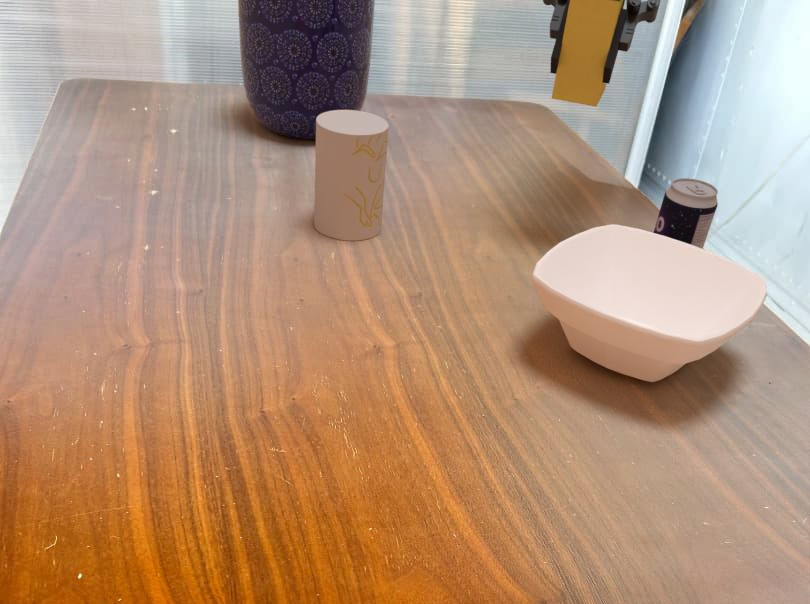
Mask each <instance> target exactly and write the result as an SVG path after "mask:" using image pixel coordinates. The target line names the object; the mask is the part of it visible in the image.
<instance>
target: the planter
mask: <svg viewBox="0 0 810 604" xmlns="http://www.w3.org/2000/svg"><path fill="white" fill-rule="evenodd" d="M237 4H238V5H237V9H238V33H239V35H238V36H239V50H240V51H239V52H240V63H241V64H240V65H241V73H242V82H243V83H242V84H243V88H244V93H245V96H246V99H247V101H248V104H249V107H250V108H251V110H252V112H253V114H254V115H255V116H256V118H257V119H258V120H259V122H260V123H261V124H262V125H263V126H264V127H265V128H267V129H268V130H270V131H272V132H274V133H276V134H279V135H281V136H284V137H288V138H293V139H298V140H299V139H300V140H316V118H317V116H318V115H320V114H322V113H324V112H328V111H333V110H356V111H362V108H363V106H364V104H365V100H366V96H367V92H368V85H369V77H370V70H371V68H370V67H371V59H372V49H373V48H372V45H373V36H374V35H373V34H374V22H375V21H374V19H375V0H237Z"/></svg>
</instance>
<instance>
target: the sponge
mask: <svg viewBox="0 0 810 604" xmlns="http://www.w3.org/2000/svg"><path fill="white" fill-rule="evenodd" d="M625 2H626V0H570V3H569V8H568V14H567V19H566V24H565V29H564V35H563V40H562V47H561V53H560V58H559V63H558V69H557V72H556V74H555V78H554V83H553V88H552V94H551V99H553V100H558V101H563V102H568V103H574V104H578V105H585V106H590V107H595V108H596V107H598V106H599V103H600V101H601V99H602V97H603V95H604V92H605V91H606V87H607V83H603V73H604V66H605V63H606V59H607V56H608V52H609V49H610V46H611V42H612V38H613V35H614V31H615V28H616V24H617V20H618V17H619V13H620V10H621V9H624V7H625V4H626V3H625Z"/></svg>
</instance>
